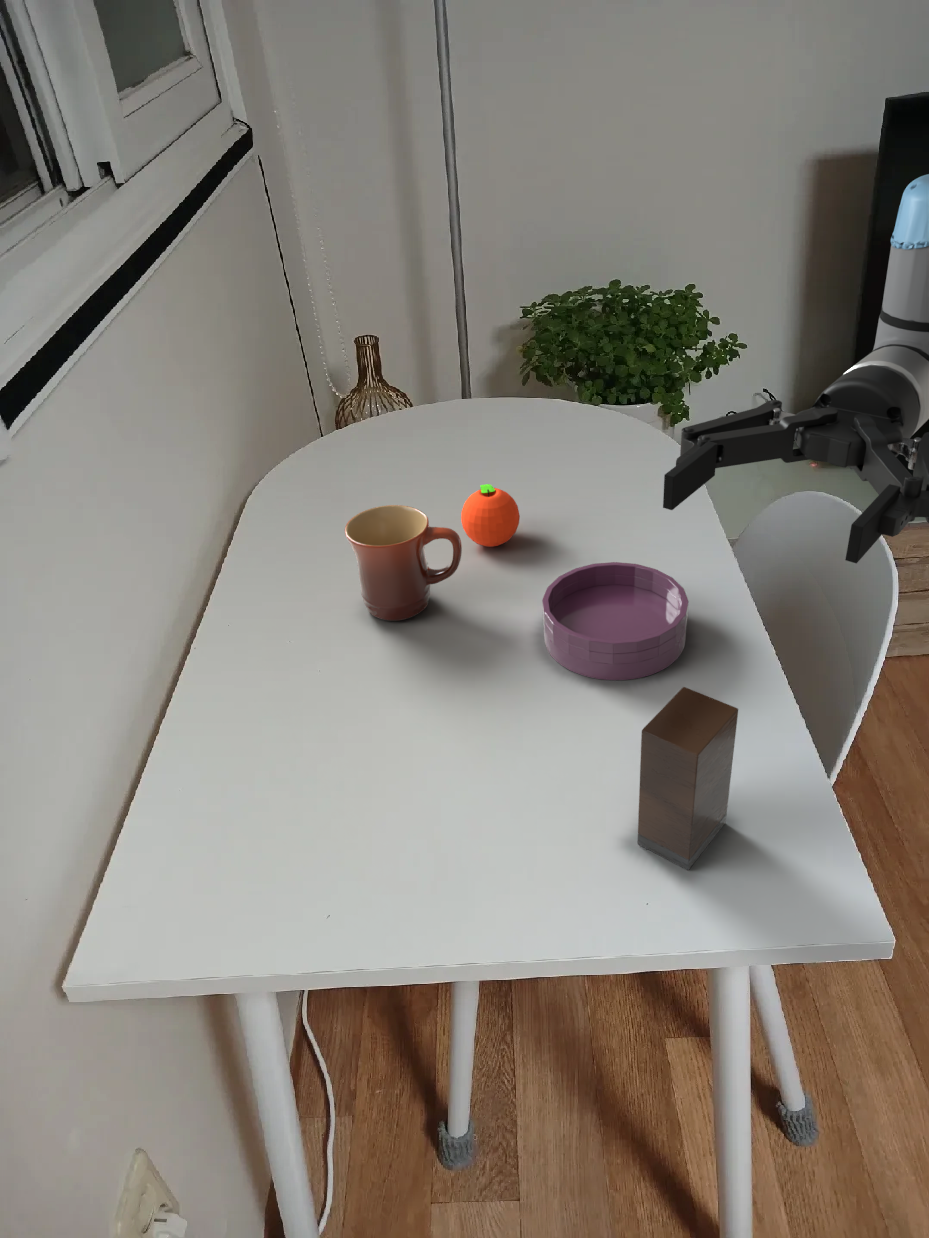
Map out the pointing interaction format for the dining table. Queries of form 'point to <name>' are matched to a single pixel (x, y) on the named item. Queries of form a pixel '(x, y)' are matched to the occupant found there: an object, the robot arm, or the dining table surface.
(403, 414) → the dining table surface
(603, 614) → the bowl
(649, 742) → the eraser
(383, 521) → the mug
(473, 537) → the clementine
